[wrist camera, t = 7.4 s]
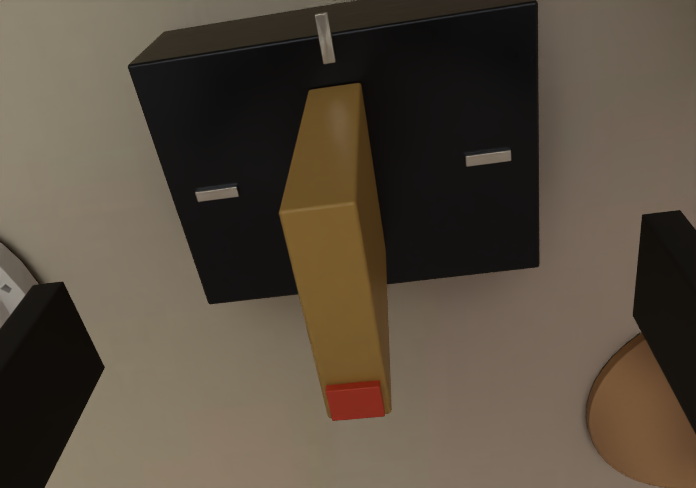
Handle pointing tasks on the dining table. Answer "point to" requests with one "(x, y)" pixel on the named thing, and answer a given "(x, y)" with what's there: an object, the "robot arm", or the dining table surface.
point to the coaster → (641, 420)
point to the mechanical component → (12, 282)
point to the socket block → (383, 128)
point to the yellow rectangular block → (340, 253)
